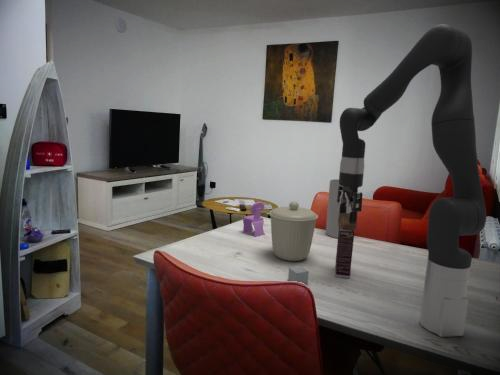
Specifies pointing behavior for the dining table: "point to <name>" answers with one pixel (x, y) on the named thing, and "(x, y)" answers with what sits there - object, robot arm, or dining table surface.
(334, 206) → the cylinder vase
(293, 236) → the canister
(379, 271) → the dining table surface
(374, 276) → the dining table surface
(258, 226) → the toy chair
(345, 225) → the walnut cube
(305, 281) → the slate cube
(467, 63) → the robot arm
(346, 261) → the supplement box
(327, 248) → the dining table surface
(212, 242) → the dining table surface
